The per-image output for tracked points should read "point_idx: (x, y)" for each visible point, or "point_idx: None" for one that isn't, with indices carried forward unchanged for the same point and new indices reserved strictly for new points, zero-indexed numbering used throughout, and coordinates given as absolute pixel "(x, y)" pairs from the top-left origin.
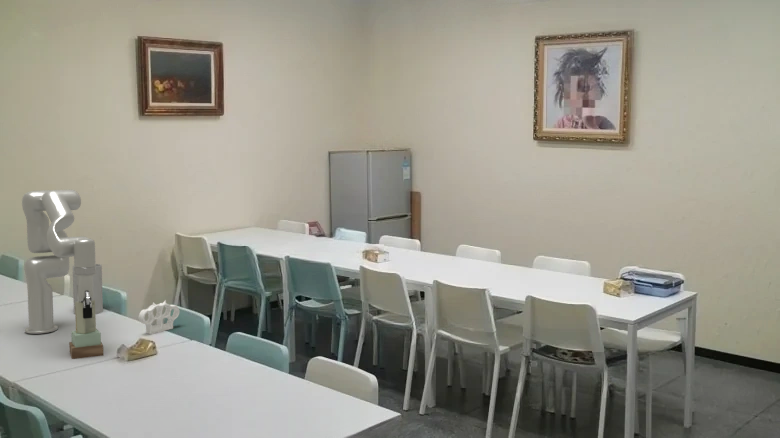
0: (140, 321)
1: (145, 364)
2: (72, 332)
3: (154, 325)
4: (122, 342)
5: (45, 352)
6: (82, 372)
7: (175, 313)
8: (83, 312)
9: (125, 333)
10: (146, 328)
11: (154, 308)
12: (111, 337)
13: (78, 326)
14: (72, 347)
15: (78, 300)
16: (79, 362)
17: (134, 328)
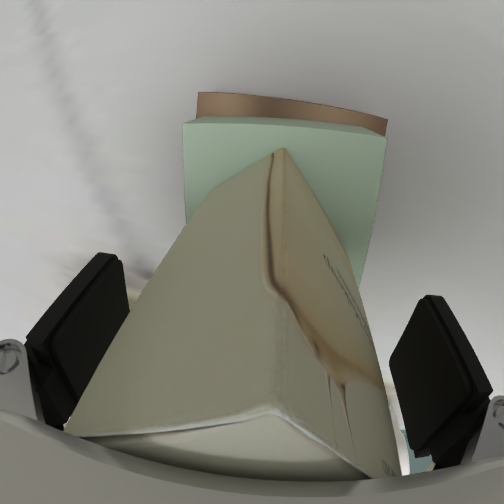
0: (400, 435)
1: (45, 305)
2: (329, 129)
3: None
4: (380, 341)
5: (427, 26)
6: (7, 124)
7: None
8: (63, 298)
9: None
10: (394, 421)
11: None
12: (471, 324)
13: (248, 179)
14: (222, 99)
15: (87, 474)
16: (128, 117)
17: (493, 382)
